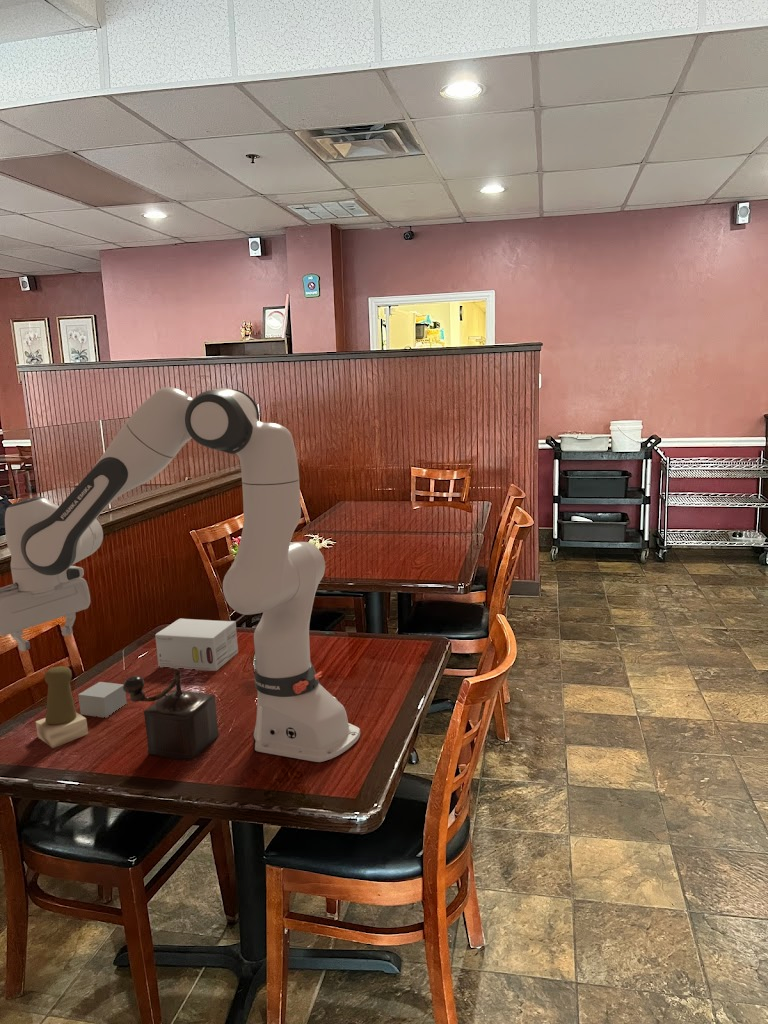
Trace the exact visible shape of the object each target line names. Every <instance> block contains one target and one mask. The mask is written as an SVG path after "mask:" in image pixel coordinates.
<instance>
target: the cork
mask: <svg viewBox="0 0 768 1024" xmlns="http://www.w3.org/2000/svg"><path fill="white" fill-rule="evenodd" d="M72 677H73V674H72V669H70V667H68V666H65V665H64V666H62V665H61V666H55V667H51V668H48V670H46V672H45V675H44V681H45V683H46V684H47V698H46V709H45V718H46V719H45V722H46V723H49V724H61V723H66V722H69V721H72V720H73V719H75V718H76V712H77V711H76V707H75V702H74V697H73V693H72V687H71V683H70V682H71V680H72Z"/></svg>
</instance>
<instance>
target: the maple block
mask: <svg viewBox="0 0 768 1024" xmlns="http://www.w3.org/2000/svg"><path fill="white" fill-rule="evenodd" d="M45 719H46V717H44V718H40V719H38V720H36V721H35V727H36V734H37V739H39V740H41V741H42V742H44V743H45V744H46V745H47V746H49V747H50V748H52V749H55V748H57V747H59V746H62V745H64V744H67V743H70V742H72V741H75V740H77V739H80V738H82V737H85V736H88V735H89V729H88V721H87V718H86V717H85V716H83V715H81V713H78V712H77V711H76V718H75V719H73V720H72V721H69V722H66V723H61V724H49V723H46V722H45Z"/></svg>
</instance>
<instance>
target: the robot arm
mask: <svg viewBox="0 0 768 1024" xmlns="http://www.w3.org/2000/svg"><path fill="white" fill-rule="evenodd" d="M259 411H260V410H259V407H258V406H257V404H256V402H255V400H254V399H253V397H251V396H250V395H249V394H247V393H246V392H244V391H241V390H238V389H231V388H227V387H222V388H221V387H220V388H214V389H211V390H206V391H203V392H201V393H199V394H197V395H196V396H195V397H194V398H193V397H191V396H190V395H189V394H187V393H186V392H185V391H183V390H182V389H179V388H176V387H171V386H167V387H166V386H165V387H161V388H159V389H158V390H156V391H155V392H154V393H153V394H151V395H150V396H149V397H148V398H147V399H146V400H145V401H144V402H143V403H142V404H141V405H140V406H139V407H138V408H137V409H136V410H135V411H134V412H133V413H132V414H131V416H130V417H129V418H128V419H127V421H126V422H125V423H124V425H123V426H122V427H121V428H120V430H119V431H118V432H117V434H115V436H114V438H113V439H112V441H111V442H110V444H109V445H108V446H107V448H106V450H105V451H104V452H103V454H102V455H101V456H100V458H99V459H98V460H97V462H96V463H95V464H94V466H93V467H92V469H91V470H90V471H89V472H88V473H87V475H85V476H84V478H83V479H82V480H81V481H80V483H79V482H78V483H79V484H78V485H76V487H75V488H74V489H73V490H72V491H71V493H70V494H69V495H68V496H67V497H66V498H65V500H64V501H63V502H62V503H61V504H60V505H58V504H55V503H53V502H52V501H50V500H49V499H48V498H46V497H44V496H36V497H31V498H27V499H23V500H20V501H17V502H14V503H11V504H9V506H8V507H6V510H5V515H4V528H5V529H4V530H5V539H6V545H7V548H8V550H9V553H10V557H11V558H10V559H11V560H10V572H11V577H12V578H11V579H12V583H11V584H8V585H5V586H1V587H0V637H5V636H8V635H10V636H11V638H13V640H14V641H15V642H16V643H17V648H18V650H19V651H20V652H26V651H28V650H30V649H31V643H30V640H27V639H23V637H22V636H23V635H24V630H26V629H29V628H32V627H35V626H39V625H41V624H44V623H47V622H50V621H54V620H56V619H59V618H63V617H64V618H66V619H65V622H64V626H61V627H60V630H61V635H62V636H64V637H69V636H70V635H73V634H74V631H73V626H74V624H75V620H76V618H77V616H76V613H78V612H80V611H83V610H87V609H88V608H90V607H89V606H90V605H91V594H90V590H89V589H90V587H89V586H88V582H87V580H86V579H85V578H84V576H85V571H84V568H83V567H81V566H76V565H75V564H76V563H77V564H78V563H79V562H80V561H82V560H84V559H86V558H87V557H90V556H91V555H93V554H94V553H95V552H96V551H98V550H99V549H100V548H101V546H102V544H103V543H104V535H105V534H104V528H103V527H102V523H101V522H100V520H98V517H99V516H100V515H101V514H102V513H103V511H105V509H106V508H107V507H108V506H109V505H110V504H111V503H113V502H114V501H115V500H116V499H118V498H119V497H121V496H122V495H124V494H126V493H127V492H130V491H131V490H133V489H135V488H138V487H141V486H142V485H145V484H146V483H148V482H149V481H151V480H152V479H154V478H156V476H157V475H159V474H160V473H162V471H163V470H165V469H166V467H168V465H169V464H170V463H172V461H173V460H174V458H175V457H176V456H177V455H178V453H179V452H180V451H181V449H182V448H183V447H184V446H185V445H187V443H188V442H190V440H191V439H193V441H195V442H196V443H197V444H199V445H201V446H203V447H206V448H209V449H211V450H215V451H220V452H224V453H226V454H230V455H234V454H235V455H237V457H238V459H239V462H240V469H241V472H240V473H241V485H242V487H241V488H242V506H243V507H242V508H243V522H242V524H243V525H242V532H241V536H240V540H239V543H238V544H239V545H238V549H237V552H236V555H235V557H234V560H233V562H232V563H231V566H230V567H229V569H228V570H227V572H226V573H225V575H224V577H223V580H222V591H223V595H224V599H225V601H226V603H227V604H228V605H229V606H230V608H231V609H232V610H234V612H236V613H238V614H240V615H244V616H245V615H246V616H249V615H250V616H251V615H256V614H261V613H262V615H261V618H260V620H259V622H258V624H257V626H256V627H255V629H254V633H253V644H254V656H255V669H254V680H253V681H254V684H255V686H254V687H255V689H256V690H257V701H256V702H257V704H256V721H255V727H254V732H253V739H254V741H255V742H254V750H255V751H256V752H258V753H264V754H270V755H275V756H280V757H281V756H282V757H286V758H291V759H292V758H293V759H298V760H304V761H309V762H314V763H322V762H325V761H328V760H332V759H334V758H336V757H338V756H340V755H341V754H343V753H344V752H346V751H348V750H349V749H350V748H351V747H352V746H354V744H356V743H357V742H358V740H359V739H360V736H361V729H360V728H359V727H358V726H356V725H354V724H352V723H349V720H348V719H349V718H348V715H347V711H346V708H345V706H344V705H343V704H342V703H341V702H340V701H339V700H338V699H337V697H335V696H333V695H332V694H331V693H330V692H329V691H328V690H326V688H325V687H324V686H323V685H321V683H320V680H319V679H321V678H322V677H323V675H321V674H322V673H323V671H319V672H316V669H315V667H314V665H313V663H312V662H311V650H310V623H311V615H312V611H313V606H314V601H315V595H316V593H317V590H318V586H319V584H320V583H321V581H322V579H323V577H324V575H325V572H326V561H325V557H324V555H323V554H322V552H321V550H320V548H318V547H317V545H315V544H313V543H311V542H310V541H309V542H307V541H293V542H292V538H293V535H294V532H295V530H296V529H297V527H298V525H299V523H300V520H301V518H302V517H301V516H302V506H301V490H300V487H301V486H300V471H299V462H298V458H297V451H296V446H295V443H294V438H293V435H292V433H291V431H290V430H289V429H288V428H287V427H285V426H283V425H282V424H279V423H275V422H262V421H260V412H259Z"/></svg>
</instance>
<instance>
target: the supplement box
mask: <svg viewBox="0 0 768 1024" xmlns="http://www.w3.org/2000/svg"><path fill="white" fill-rule="evenodd" d="M237 635H238V633H237V623H236V620H215V619H214V620H212V619H195V618H194V619H193V618H178V619H176V620H175V621H174V622H171V624H169V625H167V626H166V627H164V628H162V629H161V630H160V631H158V632H156V634H154V636H155V645H156V655H157V664H158V665H157V667H158V668H163V667H170V668H169V669H177V668H184V669H183V670H192V669H195V671H210V672H217V671H218V670H219V669H220V668H222V667H223V666H224V665H225V664H227V662H228V661H230V660H231V659H232V658H233V657H235V656H236V655H237V654H238V653H239V646H238V636H237ZM159 666H160V667H159Z"/></svg>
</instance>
